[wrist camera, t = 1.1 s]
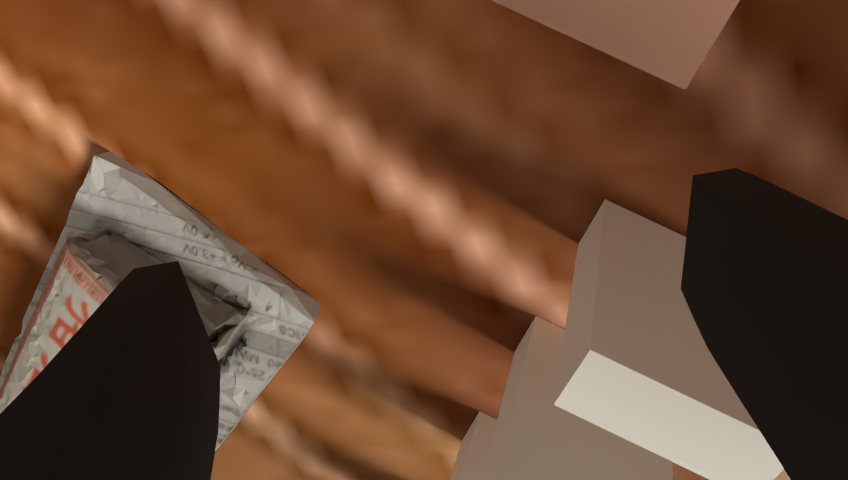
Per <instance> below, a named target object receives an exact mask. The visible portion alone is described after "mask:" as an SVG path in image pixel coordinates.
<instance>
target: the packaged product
mask: <svg viewBox="0 0 848 480" xmlns="http://www.w3.org/2000/svg"><path fill="white" fill-rule="evenodd" d="M175 261H178V262H179V264H180V267H181V269H182V272H183V274H184V277H185V279H186V282H187V284H188V287H189V289H190V292H191V294H192V297H193V299H194V302H195V304H196V307H197V309H198V312H199V314H200V317H201V319H202V322H203V324H204V327H205V329H206V332H207V334H208V336H209V339H210V341H211V344H212V346H213V349H214V351H215V354H216V356H217V359H218V361H219V364H220V366H221V370H220V406H219V426H218V436H217V442H216V448H215V451H216V450H217V449H218V447H219V446H220V445H221V444H222V442H223V441H224V440H225V439H226V438H227V436H228V435H229V434H230V433H231V432H232V430H233V429H234V428H235V427H236V425H237V424H238V423H239V422H240V420H241V419H242V417H243V416H244V415H245V413H246V412H247V410H248V409H249V408H250V406H251V405H252V403H253V402H254V401H255V399H256V398H257V396H258V395H259V394H260V393H261V392H262V390H263V389H264V388H265V387H266V385H267V384H268V383H269V382H270V380H271V379H272V378H273V377H274V375H275V374H276V373H277V372H278V370H279V369H280V368H281V367H282V365H283V364H284V363H285V362H286V361H287V359H288V358H289V357H290V356H291V354H292V353H293V352H294V351H295V349H296V348H297V347H298V346H299V344H300V343H301V342H302V340H303V339H304V337H305V336H306V334H307V332H308V331H309V329H310V328H311V326H312V324H313V323H314V321H315V319H316V316H317V314H318V312H319V309H320V307H321V305H320V304H319V303H318V302H317V301H315V300H314V299H313V298H312V297H311V296H309V295H308V294H307V293H305V292H304V291H303V290H301V289H300V288H299V287H297V286H296V285H295V284H293V283H292V282H291V281H289V280H288V279H287V278H285V277H284V276H282V275H281V274H280V273H278V272H277V271H276V270H274V269H273V268H272V267H270V266H269V265H268V264H266V263H265V262H264V261H262V260H261V259H260V258H258V257H257V256H256V255H254V254H253V253H252V252H250V251H249V250H247V249H246V248H245V247H243V246H242V245H241V244H239V243H238V242H237V241H235V240H234V239H233V238H232V237H230V236H229V235H228V234H226V233H225V232H224V231H222V230H221V229H220V228H218V227H217V226H216V225H214V224H213V223H212V222H210V221H209V220H207V219H206V218H205V217H203V216H202V215H201V214H199V213H198V212H197V211H195V210H194V209H192V208H191V207H190V206H188V205H187V204H186V203H184V202H183V201H182V200H180V199H179V198H177V197H176V196H175V195H173V194H172V193H171V192H169V191H168V190H167V189H165V188H164V187H163V186H161V185H160V184H158V183H157V182H156V181H155V180H153V179H152V178H151V177H149V176H148V175H147V174H146V173H144V172H143V171H141V170H139V169H138V168H136V167H135V166H133V165H131V164H130V163H128V162H127V161H125V160H123V159H122V158H120V157H118V156H117V155H115V154H114V153H112V152H111V151H108V152H104V153H101V154H98V155H95V156H93V160H92V163H91V166H90V169H89V171H88V173H87V176H86V178H85V180H84V183H83V185H82V186H81V188H80V189H79V191H78V192H77V194H76V197H75V199H74V202H73V204H72V207H71V209H70V212H69V215H68V218H67V222H66V224H65V227H64V229H63V231H62V233H61V236H60V238H59V240H58V242H57V244H56V247H55V249H54V251H53V252H52V255H51V257H50V260H49V262H48V264H47V266H46V268H45V270H44V273H43V275H42V277H41V279H40V282H39V284H38V286H37V289H36V291H35V294H34V296H33V299H32V300H31V302H30V304H29V306H28V309H27V311H26V313H25V316H24V318H23V323H22V330H21V334H20V335H19V336H17V337H16V338H15V340H14V343H13V345H12V348H11V350H10V352H9V355H8V357H7V359H6V361H5V364H4V366H3V369H2V373H1V375H0V414H1V412H2V411H3V410H4V409H5V408H6V407H7V406H8V405H9V404H10V403H11V402H12V401H13V400H14V399H15V398H16V397H17V396H18V395H19V394H20V393H21V392H22V391H23V390H24V389H25V388H26V387H27V386H28V385H29V384H30V383H31V382H32V381H33V380H34V379H35V378H36V377H37V376H38V374H39V373H40V372H41V371H42V370H43V369H44V368H45V367H46V366H47V365H48V363H49V362H50V361H51V360H52V359H53V358H54V357H55V356H56V354H57V353H58V352H59V351H60V350H61V349H62V348H63V347H64V346H65V344H66V343H67V342H68V341H69V340H70V339H71V338H72V337H73V336H74V334H75V333H76V332H77V331H78V330H79V329H80V328H81V327H82V325H83V324H84V323H85V322H86V321H87V320H88V319H89V317H90V316H91V315H92V314H93V313H94V312H95V311H96V309H97V308H98V307H99V306H100V305H101V304H102V303H103V301H104V300H105V299H106V298H107V297H108V296H109V295H110V293H111V292H112V291H113V290H114V289H115V288H116V287H117V286H118V285H119V283H120V282H121V281H122V280H123V279H124V278H125V277H126V276H127V275H128V274H129V273H130V272H131V271H132V270H133V269H134V268H139V267H145V266H151V265H157V264H163V263H169V262H175Z"/></svg>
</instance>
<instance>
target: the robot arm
mask: <svg viewBox="0 0 848 480" xmlns="http://www.w3.org/2000/svg"><path fill="white" fill-rule="evenodd" d="M681 291H682V293H683V295H684V297H685V300H686V302H687V304H688V307H689V309H690V311H691V314H692V316H693V318H694V321H695V323H696V325H697V327H698V329H699V331H700V333H701V335H702V338H703V340H704V342H705V344H706V346H707V348H708V350H709V351H710V353H711V354H712V356H713V358H714V359H715V361H716V363H717V364H718V366H719V367H720V369H721V371H722V372H723V374H724V375H725V377H726V379H727V380H728V382H729V383H730V385H731V387H732V388H733V390H734V391H735V393H736V394H737V396H738V398H739V399H740V401H741V402H742V404H743V405H744V407H745V409H746V410H747V412H748V413H749V415H750V416H751V418H752V419H753V421H754V423H755V424H756V426H757V427H758V429H759V430H760V432H761V433H762V435H763V437H764V438H765V440H766V441H767V443H768V444H769V446H770V448H771V449H772V451H773V452H774V454H775V455H776V457H777V458H778V460H779V462H780V463H781V465H782V466H783V468H784V469H785V471H786V472H787V474H788V476H789V477H790V479H791V480H848V220H846V219H844V218H842V217H840V216H838V215H836V214H834V213H832V212H830V211H827V210H825V209H823V208H821V207H819V206H817V205H815V204H813V203H811V202H809V201H807V200H805V199H803V198H801V197H799V196H797V195H795V194H793V193H791V192H788V191H786V190H784V189H782V188H780V187H778V186H776V185H774V184H772V183H770V182H767V181H765V180H763V179H761V178H759V177H756V176H754V175H752V174H749V173H747V172H744V171H742V170H739V169H737V168H735V169H729V170H723V171H717V172H711V173H705V174H699V175H693V181H692V190H691V199H690V208H689V217H688V226H687V235H686V244H685V254H684V263H683V272H682V281H681ZM220 370H221V366H220V364H219V361H218V359H217V356H216V354H215V351H214V349H213V346H212V344H211V341H210V339H209V336H208V334H207V332H206V329H205V327H204V324H203V322H202V319H201V317H200V314H199V312H198V309H197V307H196V304H195V302H194V299H193V297H192V294H191V292H190V289H189V287H188V284H187V282H186V279H185V277H184V274H183V272H182V269H181V267H180V264H179V262H178V261H175V262H169V263H163V264H157V265H151V266H145V267H139V268H134V269H133V270H132V271H131V272H130V273H129V274H128V275H127V276H126V277H125V278H124V279H123V280H122V281H121V282H120V283H119V285H118V286H117V287H116V288H115V289H114V290H113V291H112V292H111V293H110V295H109V296H108V297H107V298H106V299H105V300H104V301H103V303H102V304H101V305H100V306H99V307H98V308H97V309H96V311H95V312H94V313H93V314H92V315H91V316H90V317H89V319H88V320H87V321H86V322H85V323H84V324H83V325H82V327H81V328H80V329H79V330H78V331H77V332H76V333H75V334H74V336H73V337H72V338H71V339H70V340H69V341H68V342H67V343H66V344H65V346H64V347H63V348H62V349H61V350H60V351H59V352H58V353H57V354H56V356H55V357H54V358H53V359H52V360H51V361H50V362H49V363H48V365H47V366H46V367H45V368H44V369H43V370H42V371H41V372H40V373H39V374H38V376H37V377H36V378H35V379H34V380H33V381H32V382H31V383H30V384H29V385H28V386H27V387H26V388H25V389H24V390H23V391H22V392H21V393H20V394H19V395H18V396H17V397H16V398H15V399H14V400H13V401H12V402H11V403H10V404H9V405H8V406H7V407H6V408H5V409H4V410H3V411H2V412H1V414H0V480H210V478H211V472H212V466H213V460H214V454H215V448H216V442H217V436H218V426H219V406H220Z"/></svg>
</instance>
